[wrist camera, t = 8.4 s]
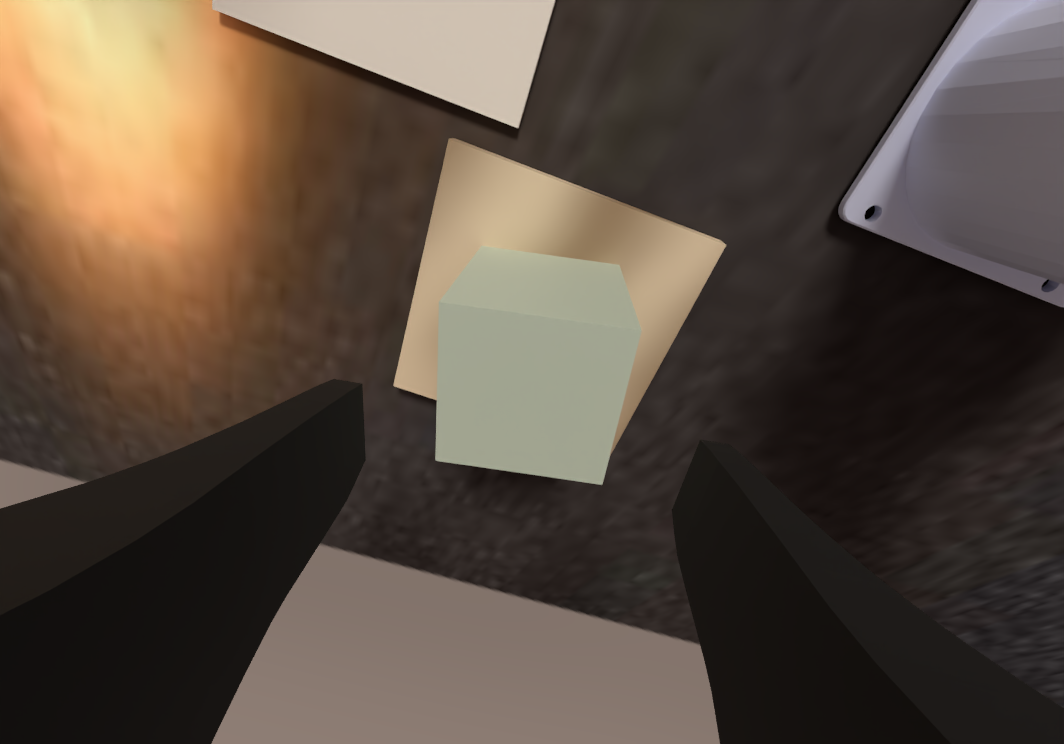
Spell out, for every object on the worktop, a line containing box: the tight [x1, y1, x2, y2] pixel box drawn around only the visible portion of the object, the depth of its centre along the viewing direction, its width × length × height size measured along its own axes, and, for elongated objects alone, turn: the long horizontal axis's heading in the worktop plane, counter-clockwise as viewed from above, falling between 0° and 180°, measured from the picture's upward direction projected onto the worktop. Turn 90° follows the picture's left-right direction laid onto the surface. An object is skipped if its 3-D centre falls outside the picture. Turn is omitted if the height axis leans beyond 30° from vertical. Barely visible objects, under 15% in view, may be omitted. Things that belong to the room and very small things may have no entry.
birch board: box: [393, 138, 726, 455], centre depth 18 cm, size 10×10×1 cm
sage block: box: [436, 246, 642, 485], centre depth 15 cm, size 5×5×6 cm
